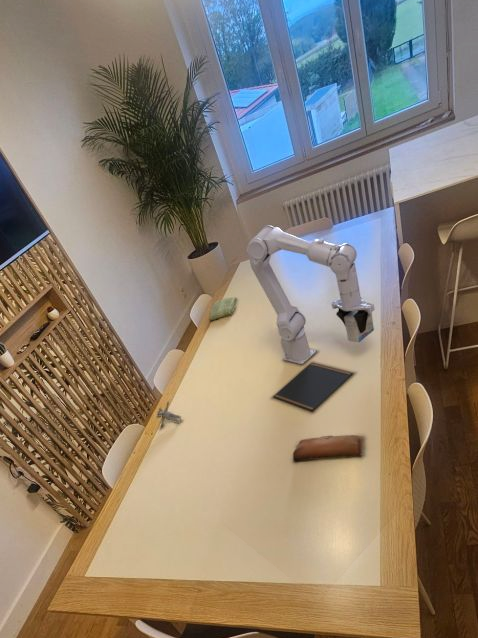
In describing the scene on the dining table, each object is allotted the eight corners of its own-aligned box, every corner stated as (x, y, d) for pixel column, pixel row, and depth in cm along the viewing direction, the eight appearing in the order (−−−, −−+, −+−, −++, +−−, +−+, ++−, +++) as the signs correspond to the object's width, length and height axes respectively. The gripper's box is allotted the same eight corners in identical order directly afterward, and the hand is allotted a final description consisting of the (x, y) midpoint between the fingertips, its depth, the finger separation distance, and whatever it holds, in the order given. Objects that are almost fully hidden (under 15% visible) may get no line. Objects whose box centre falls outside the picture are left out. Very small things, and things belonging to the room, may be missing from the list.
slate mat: (273, 397, 139) (272, 396, 139) (312, 363, 145) (311, 362, 145) (312, 412, 127) (311, 410, 126) (353, 373, 132) (352, 372, 132)
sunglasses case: (362, 433, 112) (358, 427, 106) (363, 459, 110) (359, 453, 104) (298, 440, 119) (291, 434, 113) (298, 464, 118) (291, 459, 112)
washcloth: (238, 298, 209) (235, 292, 207) (233, 315, 197) (231, 309, 195) (214, 306, 214) (212, 300, 212) (209, 322, 202) (206, 317, 199)
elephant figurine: (172, 432, 147) (151, 425, 150) (180, 433, 153) (159, 425, 155) (180, 405, 145) (158, 398, 148) (187, 407, 151) (166, 400, 154)
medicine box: (358, 343, 131) (354, 318, 125) (347, 341, 134) (343, 316, 128) (374, 330, 133) (371, 305, 127) (363, 328, 136) (359, 303, 131)
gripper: (378, 284, 118) (383, 326, 127) (338, 281, 128) (346, 320, 137) (362, 297, 116) (369, 338, 125) (323, 293, 126) (332, 332, 135)
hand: (356, 330), depth 131 cm, fingers closed on medicine box, 4 cm apart
